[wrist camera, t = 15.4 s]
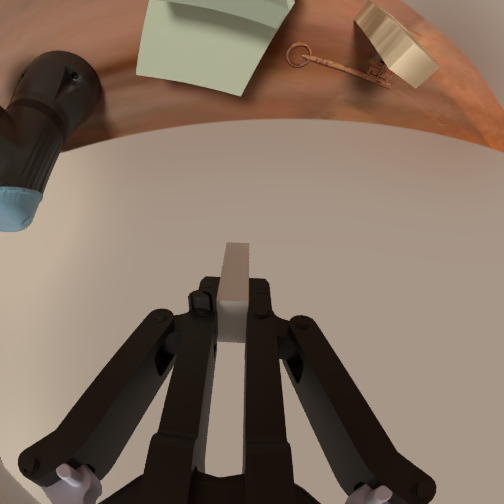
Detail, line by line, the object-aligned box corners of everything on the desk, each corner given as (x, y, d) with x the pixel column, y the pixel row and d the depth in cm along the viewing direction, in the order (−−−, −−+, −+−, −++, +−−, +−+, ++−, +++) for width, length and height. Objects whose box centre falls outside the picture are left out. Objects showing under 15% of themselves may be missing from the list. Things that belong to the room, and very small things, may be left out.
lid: (138, 70, 22) (123, 97, 20) (162, -34, 11) (140, -23, 9) (241, 91, 26) (238, 119, 24) (294, -1, 15) (300, 14, 13)
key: (400, 65, 25) (294, 25, 22) (402, 68, 25) (295, 27, 22) (382, 94, 30) (282, 62, 28) (384, 97, 30) (282, 65, 27)
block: (353, 19, 20) (388, 68, 16) (369, 0, 17) (413, 43, 13) (377, 34, 21) (415, 88, 17) (393, 16, 18) (439, 67, 14)
